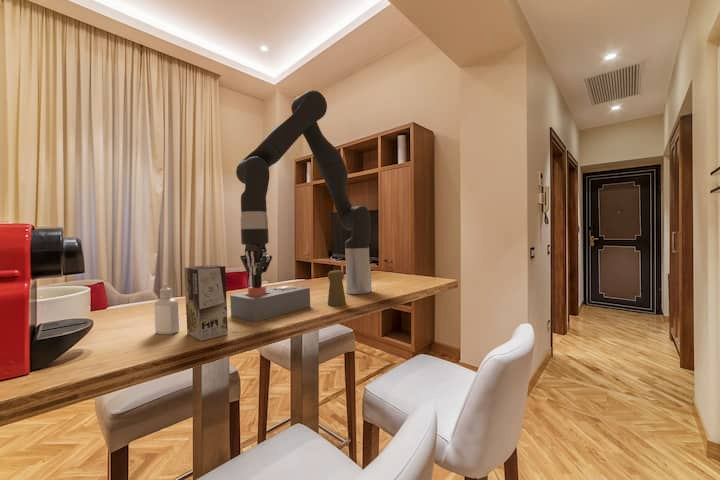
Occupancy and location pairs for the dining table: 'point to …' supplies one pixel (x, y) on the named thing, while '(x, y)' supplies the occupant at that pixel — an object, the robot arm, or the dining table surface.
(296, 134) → the robot arm
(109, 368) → the dining table surface
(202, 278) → the coffee box
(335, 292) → the cork
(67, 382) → the dining table surface
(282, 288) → the white rounded block
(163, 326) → the eye dropper bottle
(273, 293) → the console
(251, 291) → the red plunger
